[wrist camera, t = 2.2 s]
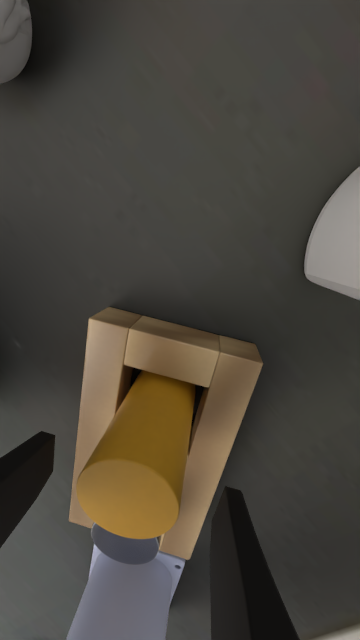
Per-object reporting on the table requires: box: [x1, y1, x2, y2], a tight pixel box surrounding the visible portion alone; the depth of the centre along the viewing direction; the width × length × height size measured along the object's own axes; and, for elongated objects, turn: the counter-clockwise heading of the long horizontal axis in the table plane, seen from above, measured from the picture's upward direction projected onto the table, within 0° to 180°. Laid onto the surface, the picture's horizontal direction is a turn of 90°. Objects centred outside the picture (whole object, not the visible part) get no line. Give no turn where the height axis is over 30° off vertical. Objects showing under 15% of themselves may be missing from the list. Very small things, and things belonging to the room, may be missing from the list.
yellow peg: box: [76, 370, 196, 539], centre depth 12 cm, size 4×4×8 cm
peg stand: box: [69, 307, 263, 560], centre depth 16 cm, size 9×16×2 cm, turn 168°
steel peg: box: [91, 522, 162, 565], centre depth 16 cm, size 4×4×5 cm
